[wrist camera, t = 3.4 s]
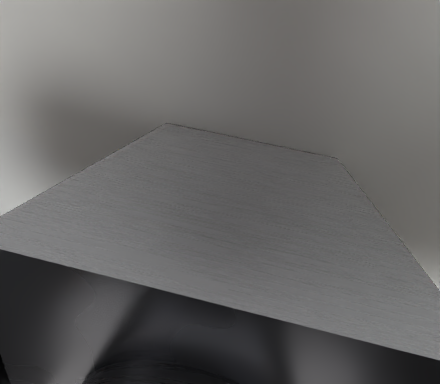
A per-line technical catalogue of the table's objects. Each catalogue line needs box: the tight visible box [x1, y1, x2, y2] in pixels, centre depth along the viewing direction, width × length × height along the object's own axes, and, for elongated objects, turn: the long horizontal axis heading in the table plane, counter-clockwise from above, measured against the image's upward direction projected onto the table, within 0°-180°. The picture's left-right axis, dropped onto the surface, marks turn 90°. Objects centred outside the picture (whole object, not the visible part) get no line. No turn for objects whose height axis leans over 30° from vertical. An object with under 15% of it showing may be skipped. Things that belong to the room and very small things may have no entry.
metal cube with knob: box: [0, 123, 440, 384], centre depth 7 cm, size 6×6×8 cm
